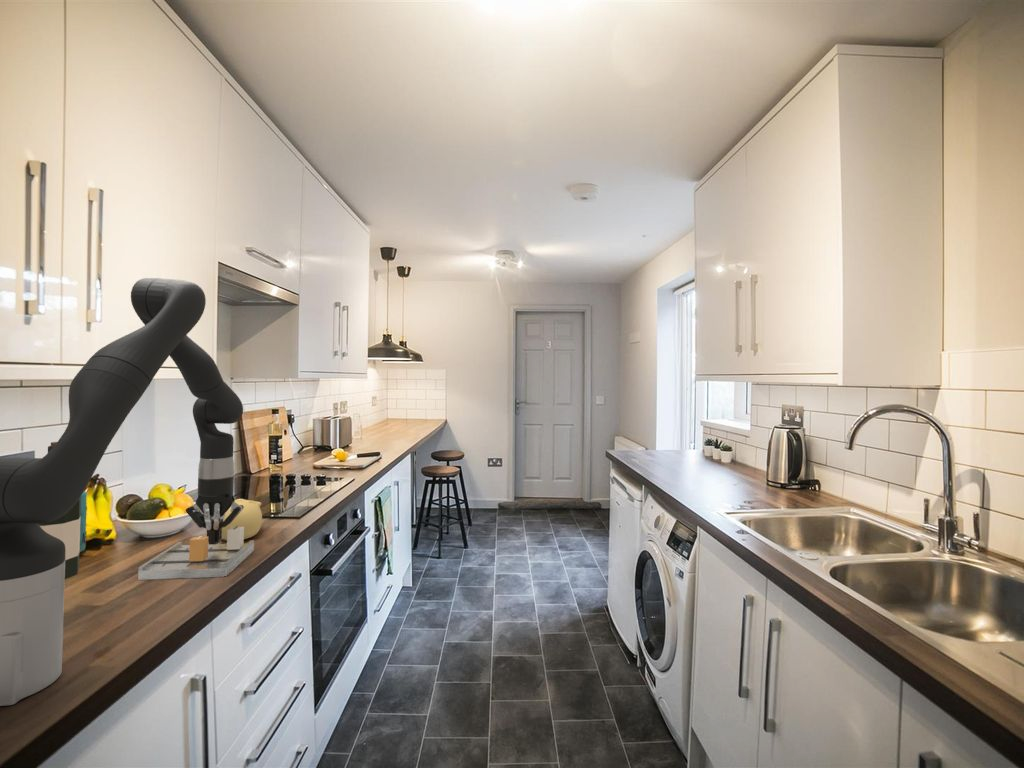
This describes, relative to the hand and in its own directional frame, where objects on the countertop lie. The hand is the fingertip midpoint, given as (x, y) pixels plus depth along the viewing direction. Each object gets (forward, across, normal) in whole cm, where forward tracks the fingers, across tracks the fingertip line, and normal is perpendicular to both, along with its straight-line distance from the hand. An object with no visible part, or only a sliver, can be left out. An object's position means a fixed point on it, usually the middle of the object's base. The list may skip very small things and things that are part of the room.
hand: (214, 543), depth 114 cm
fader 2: (+1, +5, 0) cm, 5 cm away
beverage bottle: (+4, -34, +3) cm, 35 cm away
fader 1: (+1, 0, -7) cm, 7 cm away
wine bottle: (+4, -29, -8) cm, 31 cm away
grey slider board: (+4, -1, -3) cm, 5 cm away
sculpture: (+4, 0, +16) cm, 16 cm away
